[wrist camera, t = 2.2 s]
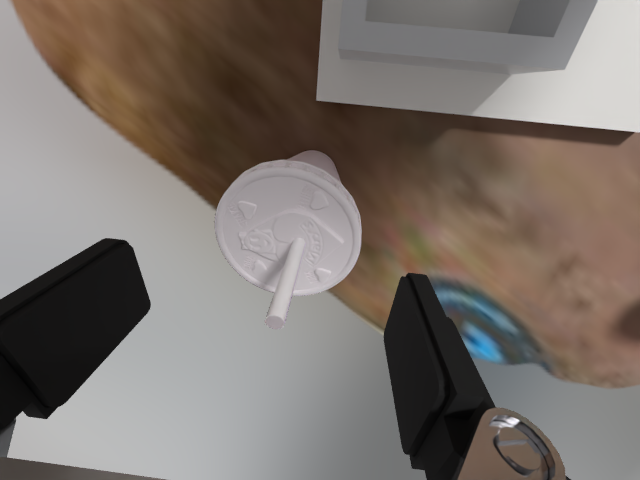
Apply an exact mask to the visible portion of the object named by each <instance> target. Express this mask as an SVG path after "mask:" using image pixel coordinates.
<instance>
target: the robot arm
mask: <svg viewBox="0 0 640 480" xmlns="http://www.w3.org/2000/svg"><path fill="white" fill-rule="evenodd" d="M150 305H151V304H150V300H149V296H148V293H147V290H146V287H145V284H144V281H143V278H142V275H141V271H140V268H139V265H138V262H137V259H136V256H135V253H134V250H133V248H132V247H131V246H130V245H129V243H128V242H127V241H125V240H118V239H110V238H105V239H103V240H101V241H99V242H97V243H96V244H94V245H92V246H91V247H89V248H87V249H85V250H84V251H82V252H80V253H79V254H77V255H75V256H73V257H72V258H70V259H68V260H67V261H65V262H63V263H62V264H60V265H58V266H56V267H55V268H53V269H51V270H50V271H48V272H46V273H45V274H43V275H41V276H39V277H38V278H36V279H34V280H33V281H31V282H30V283H28V284H26V285H24V286H22V287H21V288H19V289H17V290H16V291H14V292H12V293H10V294H9V295H7V296H6V297H4V298H2V299H0V480H165V479H158V478H151V477H144V476H137V475H129V474H122V473H115V472H108V471H101V470H94V469H86V468H79V467H72V466H65V465H57V464H51V463H43V462H35V461H28V460H21V459H13V458H7V454H8V450H9V446H10V442H11V438H12V434H13V430H14V426H15V422H16V416H18V415H19V414H20V413H21V412H22V411H23V412H24V413H25V414H26V415H27V416H28V417H36V418H43V419H47V418H48V417H49V416H50V415H51V414H52V413H53V412H54V411H55V410H56V408H57V407H59V406H61V405H63V404H64V403H66V402H67V401H68V399H69V398H70V397H71V396H72V395H73V394H74V393H75V392H76V391H77V390H78V389H79V388H80V386H81V385H82V384H83V383H84V382H85V381H86V380H87V379H88V378H89V377H90V375H91V374H92V373H93V372H94V371H95V370H96V369H97V368H98V367H99V366H100V364H101V363H102V362H103V361H104V360H105V359H106V358H107V357H108V356H109V355H110V353H111V352H112V351H113V350H114V349H115V348H116V347H117V346H118V345H119V344H120V342H121V341H122V340H123V339H124V338H125V337H126V336H127V335H128V334H129V332H131V330H132V329H133V328H134V327H135V326H136V325H137V324H138V322H140V321H141V319H142V318H143V317H144V316H145V315H146V314H147V313H148V311H149V309H150ZM384 343H385V350H386V356H387V362H388V368H389V373H390V379H391V385H392V391H393V397H394V403H395V409H396V415H397V420H398V427H399V432H400V438H401V444H402V448H403V452H404V453H405V454H408V455H410V460H411V466H412V468H413V469H420V470H425V473H426V478H427V480H571V479H569V478H568V477H567V476H566V475H565V467H564V465H563V462H562V460H561V458H560V455H559V453H558V452H557V450H556V449H555V447H554V446H553V445H552V443H551V441H550V440H549V439H548V438H547V437H546V436H545V435H544V433H543V432H542V431H541V430H540V429H539V428H537V426H535V425H534V424H533V423H532V422H530V421H529V420H528V419H527V418H525V417H523V416H521V415H520V414H518V413H516V412H514V411H511V410H508V409H505V408H496V407H495V405H494V403H493V401H492V399H491V397H490V395H489V393H488V391H487V389H486V387H485V385H484V383H483V381H482V379H481V377H480V375H479V373H478V371H477V368H476V366H475V365H474V362H473V360H472V358H471V356H470V354H469V352H468V350H467V348H466V346H465V344H464V342H463V340H462V338H461V336H460V334H459V332H458V330H457V328H456V326H455V324H454V322H453V321H452V319H450V318H449V317H446V315H445V312H444V310H443V308H442V306H441V304H440V302H439V300H438V298H437V296H436V294H435V291H434V289H433V287H432V285H431V283H430V281H429V279H428V277H427V275H423V274H414V273H408V274H407V275H406V277H403V276H402V277H401V278H400V281H399V285H398V288H397V291H396V295H395V298H394V301H393V305H392V308H391V311H390V315H389V318H388V321H387V324H386V328H385V331H384Z"/></svg>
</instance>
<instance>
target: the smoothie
mask: <svg viewBox="0 0 640 480" xmlns="http://www.w3.org/2000/svg"><path fill="white" fill-rule="evenodd" d="M215 233H216V238H217V241H218V244H219V247H220V249H221V251H222V253H223V255H224V257H225V259H226V260H227V261H228V263H229V264H230V265H231V266H232V268H233V269H234V270H235V271H236V272H237V273H238V274H240V275H241V276H242V277H243V278H244V279H246V280H247V281H249V282H250V283H252V284H254V285H255V286H257V287H259V288H262V289H264V290H267V291H269V292H273V293H274V296H273V299H272V302H271V305H270V307H269V310H268V313H267V316H266V318H265V323H266V325H267V326H268V327H270V328H272V329H281V328H283V327H284V325H285V321H286V317H287V313H288V310H289V306H290V301H291V298H292V296H305V295H312V294H316V293H320V292H323V291H325V290H327V289H330V288H331V287H333V286H335V285H336V284H338V283H339V282H341V281H342V280H343V279H344V278H345V277H346V276H347V275H348V274H349V273H350V271H351V270H352V269H353V267H354V265H355V263H356V261H357V259H358V256H359V253H360V249H361V234H362V228H361V219H360V213H359V211H358V209H357V206H356V204H355V202H354V199H353V197H352V196H351V195H350V193H349V192H348V191H347V190H346V188H345V187H344V186H343V185H342V183H341V180H340V178H339V175H338V172H337V169H336V166H335V164H334V162H333V161H332V160H331V158H330V157H328V156H327V155H326V154H324V153H322V152H320V151H316V150H308V151H304V152H302V153H299V154H297V155H295V156H293V157H291V158H289V159H287V160H283V159H282V160H276V161H270V162H264V163H260V164H258V165H256V166H254V167H252V168H250V169H248V170H246V171H244V172H243V173H242V174H241V175H240V176H239V177H238V178H237V179H236V180H235V181H234V182H233V183H232V184H231V186H230V187H229V188H228V189H227V190H226V191H225V193H224V194H223V196H222V198H221V200H220V202H219V204H218V207H217V210H216V215H215Z"/></svg>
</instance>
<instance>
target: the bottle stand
mask: <svg viewBox="0 0 640 480" xmlns="http://www.w3.org/2000/svg"><path fill="white" fill-rule="evenodd" d="M316 101H326V102H336V103H347V104H357V105H367V106H377V107H387V108H397V109H408V110H418V111H428V112H438V113H448V114H458V115H468V116H479V117H489V118H499V119H509V120H519V121H529V122H540V123H550V124H560V125H570V126H580V127H590V128H600V129H611V130H621V131H631V132H640V0H323V4H322V20H321V35H320V50H319V65H318V80H317V95H316Z"/></svg>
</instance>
